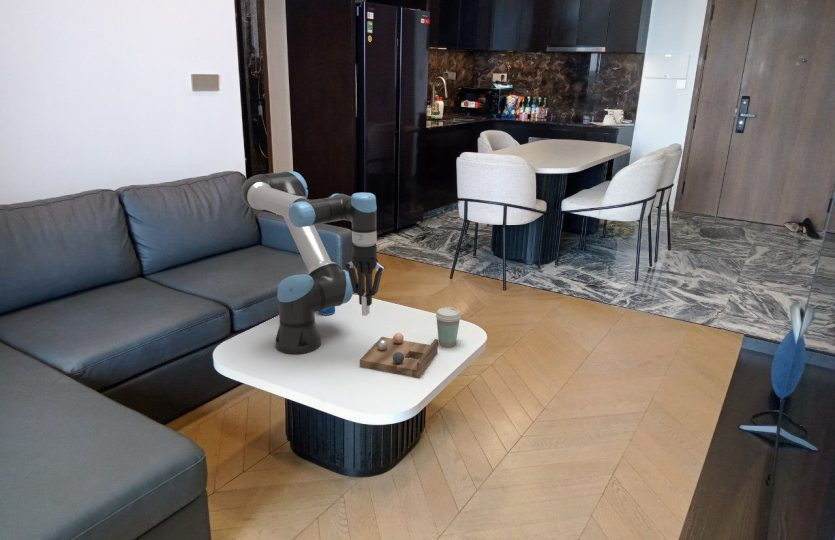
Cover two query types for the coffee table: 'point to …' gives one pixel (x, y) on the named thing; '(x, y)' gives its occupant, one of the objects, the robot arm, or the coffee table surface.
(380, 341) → the steel ball
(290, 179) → the robot arm
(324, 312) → the beverage can
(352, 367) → the coffee table surface
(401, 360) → the black ball
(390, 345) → the wooden board
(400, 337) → the clay ball
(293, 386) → the coffee table surface
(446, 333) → the coffee cup
